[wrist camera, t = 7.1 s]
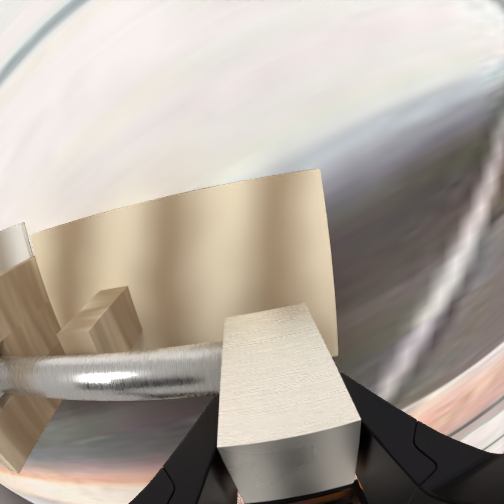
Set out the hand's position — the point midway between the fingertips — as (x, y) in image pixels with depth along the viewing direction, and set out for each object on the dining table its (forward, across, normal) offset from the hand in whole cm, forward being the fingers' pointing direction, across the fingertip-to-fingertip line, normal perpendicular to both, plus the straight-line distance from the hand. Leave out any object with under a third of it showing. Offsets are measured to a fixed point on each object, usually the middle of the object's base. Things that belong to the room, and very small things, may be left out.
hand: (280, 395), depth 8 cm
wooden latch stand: (+10, +10, 0) cm, 14 cm away
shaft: (+3, +9, 0) cm, 9 cm away
